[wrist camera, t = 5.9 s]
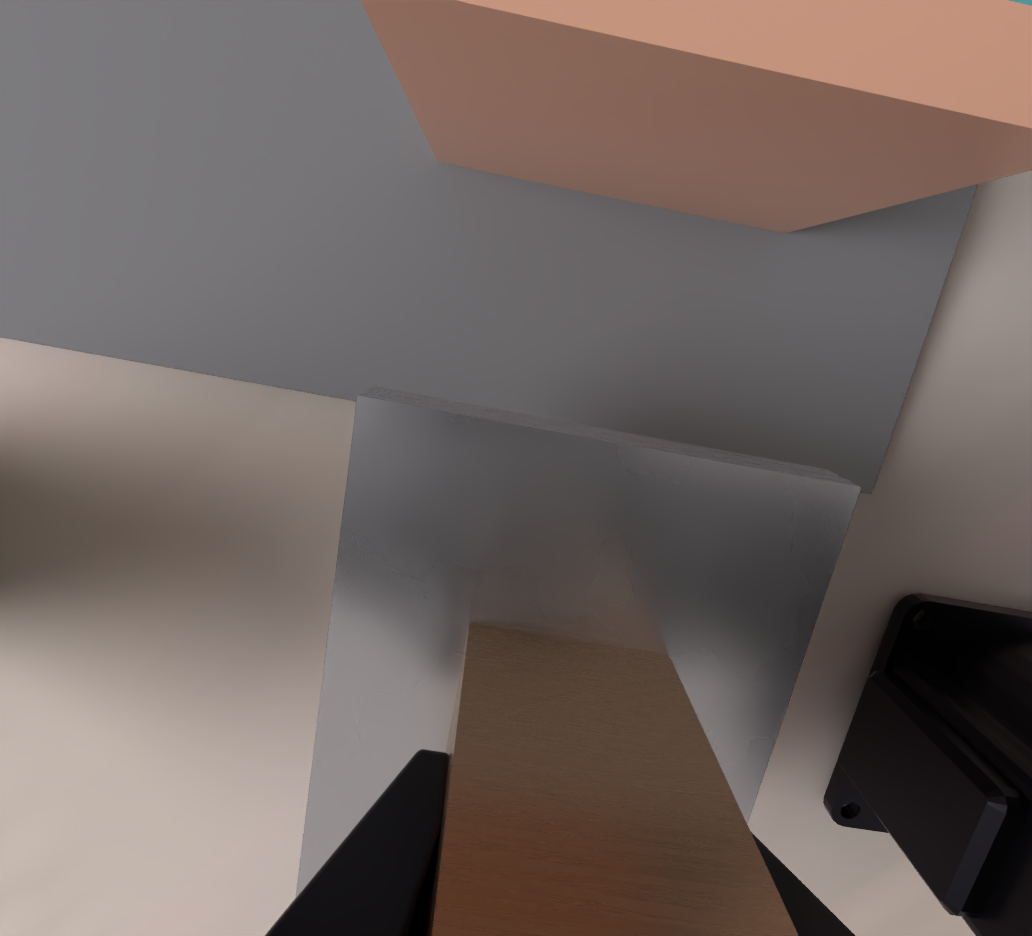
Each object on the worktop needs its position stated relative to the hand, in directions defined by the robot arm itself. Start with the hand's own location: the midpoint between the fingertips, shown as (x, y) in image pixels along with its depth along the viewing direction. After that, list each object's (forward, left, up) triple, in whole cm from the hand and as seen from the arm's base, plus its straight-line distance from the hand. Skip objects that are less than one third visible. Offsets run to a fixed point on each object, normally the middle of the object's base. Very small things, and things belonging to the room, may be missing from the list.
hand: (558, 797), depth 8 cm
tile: (0, -9, -6) cm, 11 cm away
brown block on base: (0, 0, -2) cm, 2 cm away
